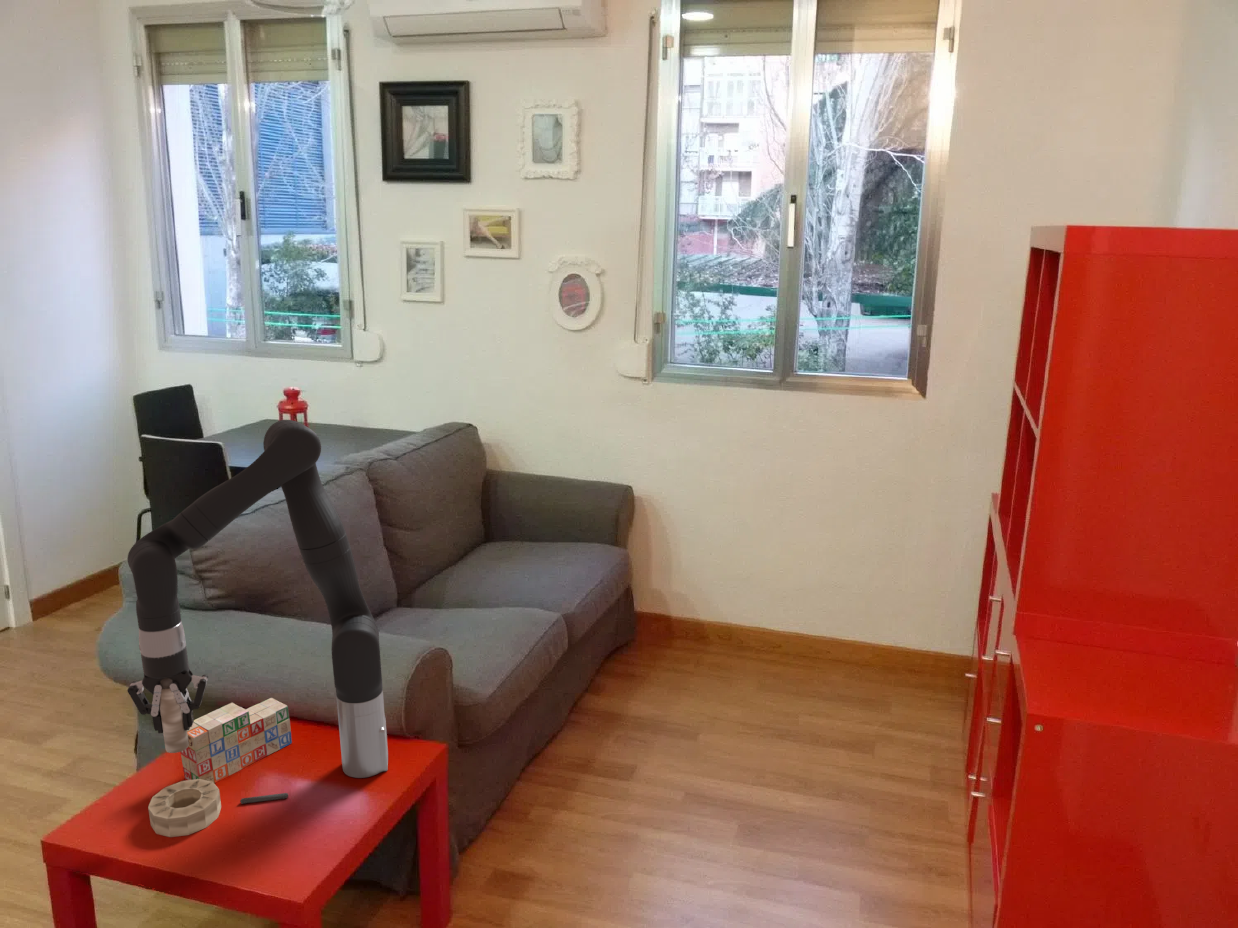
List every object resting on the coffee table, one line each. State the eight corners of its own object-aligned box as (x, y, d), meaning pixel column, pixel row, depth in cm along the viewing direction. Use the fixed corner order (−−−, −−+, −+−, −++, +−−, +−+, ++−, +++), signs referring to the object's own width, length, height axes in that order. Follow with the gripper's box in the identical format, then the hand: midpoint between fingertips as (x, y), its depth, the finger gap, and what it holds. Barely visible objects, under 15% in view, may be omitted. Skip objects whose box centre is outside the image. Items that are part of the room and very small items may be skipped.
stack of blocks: (276, 734, 208) (270, 684, 205) (292, 743, 205) (287, 693, 201) (183, 779, 192) (176, 726, 188) (200, 790, 188) (192, 736, 185)
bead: (225, 793, 187) (223, 775, 186) (213, 831, 176) (211, 813, 175) (160, 801, 185) (158, 783, 183) (144, 840, 173) (141, 821, 172)
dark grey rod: (288, 795, 186) (288, 791, 186) (288, 798, 185) (287, 794, 185) (241, 801, 185) (240, 797, 184) (240, 804, 184) (239, 800, 183)
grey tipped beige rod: (190, 739, 178) (181, 667, 174) (186, 751, 175) (176, 677, 170) (168, 742, 178) (158, 669, 173) (163, 754, 174) (152, 679, 170)
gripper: (208, 633, 176) (218, 715, 180) (126, 640, 173) (138, 723, 177) (200, 651, 168) (211, 736, 173) (114, 659, 165) (128, 744, 170)
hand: (174, 729), depth 175 cm, fingers closed on grey tipped beige rod, 4 cm apart
